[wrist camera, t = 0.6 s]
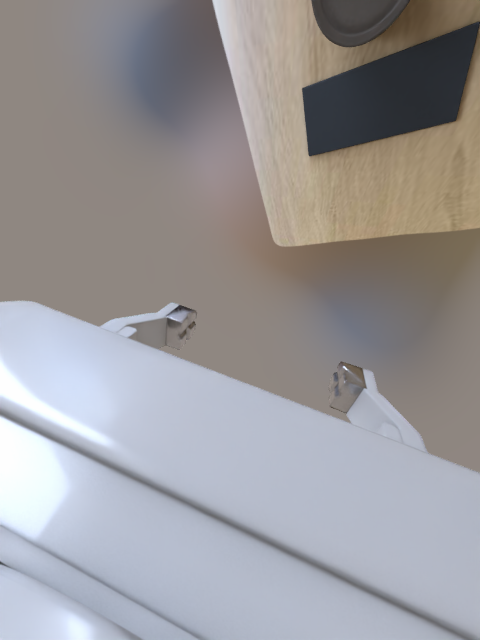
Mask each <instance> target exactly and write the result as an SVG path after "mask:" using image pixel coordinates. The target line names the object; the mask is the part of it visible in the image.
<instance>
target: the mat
mask: <svg viewBox="0 0 480 640" xmlns="http://www.w3.org/2000/svg"><path fill="white" fill-rule="evenodd" d="M479 24H480V22H477V23H474V24H471V25H469V26H466V27H463V28H461V29H458V30H455V31H453V32H450V33H448V34H445V35H442V36H440V37H437V38H434V39H432V40H429V41H426V42H424V43H421V44H418V45H416V46H413V47H410V48H408V49H405V50H402V51H400V52H397V53H394V54H392V55H389V56H387V57H384V58H381V59H379V60H376V61H373V62H371V63H368V64H365V65H363V66H360V67H357V68H355V69H352V70H349V71H347V72H344V73H341V74H339V75H336V76H334V77H331V78H328V79H326V80H323V81H320V82H318V83H315V84H312V85H310V86H307V87H304V88H303V89H302V91H303V101H304V112H305V122H306V132H307V142H308V152H309V156H312V155H316V154H320V153H325V152H329V151H333V150H337V149H341V148H345V147H349V146H354V145H358V144H362V143H366V142H370V141H374V140H378V139H382V138H387V137H391V136H395V135H399V134H403V133H407V132H411V131H415V130H420V129H424V128H428V127H432V126H436V125H440V124H444V123H449V122H453V121H456V118H457V114H458V110H459V105H460V101H461V97H462V93H463V89H464V85H465V81H466V77H467V73H468V69H469V65H470V61H471V57H472V53H473V49H474V45H475V41H476V37H477V33H478V28H479Z"/></svg>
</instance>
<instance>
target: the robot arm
mask: <svg viewBox="0 0 480 640" xmlns="http://www.w3.org/2000/svg"><path fill="white" fill-rule="evenodd" d="M196 317H197V312H196V311H195V310H192V309H190V308H187V307H184V306H182V305H179V304H176V303H172V302H171V303H170V304H168V305H167V306H166V307H164V308H163V309H162V310H160V311H159V312H157V313H149V314H142V315H136V316H130V317H124V318H118V319H112V320H110V321H108V322H107V323H105V324H104V325H102V326H100V327H98V326H96V325H93V324H90V323H88V322H85V321H83V320H80V319H77V318H75V317H72V316H69V315H67V314H64V313H61V312H59V311H56V310H54V309H51V308H48V307H46V306H44V305H41V304H39V303H36V302H32V301H6V302H0V640H480V473H479V472H476V471H474V470H471V469H468V468H466V467H463V466H460V465H458V464H455V463H452V462H450V461H447V460H445V459H442V458H439V457H437V456H434V455H432V454H429V453H428V452H427V450H426V448H425V445H424V442H423V440H422V437H421V435H420V434H419V433H418V432H417V431H416V430H415V429H414V428H413V427H412V426H411V425H410V423H409V422H408V421H407V420H406V419H405V418H404V417H403V416H402V415H401V414H400V413H399V412H398V411H397V410H396V409H395V408H394V407H393V406H392V405H391V404H390V403H389V402H388V401H387V400H386V399H385V398H384V397H383V395H381V394H379V393H378V390H377V386H376V383H375V379H374V375H373V372H372V371H370V370H367V369H363V368H359V367H357V366H353V365H351V364H347V363H344V362H340V363H339V365H338V367H337V372H336V373H334V374H333V376H332V378H331V380H330V384H329V391H330V393H331V395H330V396H329V404H330V405H329V406H330V407H331V408H334V409H336V410H339V411H341V412H344V413H346V414H347V416H348V418H349V420H350V422H351V423H352V424H351V423H348V422H346V421H343V420H341V419H338V418H335V417H333V416H330V415H328V414H325V413H322V412H320V411H317V410H315V409H312V408H309V407H307V406H304V405H302V404H299V403H296V402H293V401H291V400H288V399H286V398H283V397H280V396H278V395H275V394H272V393H270V392H268V391H265V390H262V389H259V388H257V387H255V386H252V385H249V384H247V383H244V382H242V381H239V380H236V379H234V378H231V377H229V376H226V375H223V374H220V373H218V372H215V371H213V370H210V369H208V368H205V367H202V366H200V365H197V364H195V363H192V362H189V361H187V360H184V359H182V358H179V357H176V356H174V355H171V354H169V353H166V352H163V351H161V350H158V349H159V348H161V347H164V346H165V345H167V346H169V347H172V348H176V349H178V350H180V349H181V348H182V347H183V345H184V344H185V343H186V340H188V339H190V338H191V336H192V335H193V333H194V330H195V325H196V324H195V322H194V320H195V319H196Z"/></svg>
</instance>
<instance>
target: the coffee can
mask: <svg viewBox="0 0 480 640" xmlns="http://www.w3.org/2000/svg"><path fill="white" fill-rule="evenodd" d="M409 1H410V0H312V7H313V11H314V15H315V18H316V21H317V24H318V26H319V28H320V30H321V31H322V33H323V34H324V35H325V37H326V38H328V39H329V40H330V41H331V42H333V43H334V44H337V45H339V46H343V47H356V46H360V45H363V44H366V43H368V42H370V41H371V40H373V39H375V38H376V37H378V36H379V35H381V34H382V33H383V32H384V31H385V30H386V29H387V28H389V27H390V26H391V25H392V24H393V22H394V21H395V20H396V19H397V18H398V17H399V15H400V14H401V13H402V11H403V10H404V9H405V7H406V6H407V4H408V3H409Z"/></svg>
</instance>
